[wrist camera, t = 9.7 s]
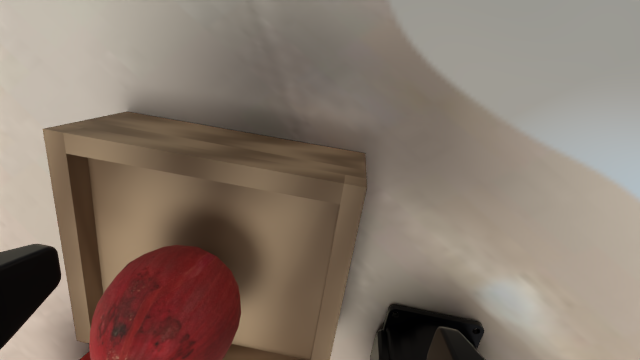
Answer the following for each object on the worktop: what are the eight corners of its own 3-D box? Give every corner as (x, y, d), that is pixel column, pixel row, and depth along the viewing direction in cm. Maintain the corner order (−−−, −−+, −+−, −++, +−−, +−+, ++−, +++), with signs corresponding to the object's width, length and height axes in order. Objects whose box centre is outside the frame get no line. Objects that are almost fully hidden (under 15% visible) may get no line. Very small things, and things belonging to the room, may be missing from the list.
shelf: (365, 153, 19) (367, 187, 14) (330, 320, 24) (322, 395, 18) (126, 111, 20) (42, 128, 15) (138, 280, 25) (76, 340, 19)
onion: (149, 214, 17) (-13, 335, 10) (256, 220, 16) (171, 353, 9) (168, 302, 19) (46, 459, 12) (263, 310, 18) (199, 480, 11)
